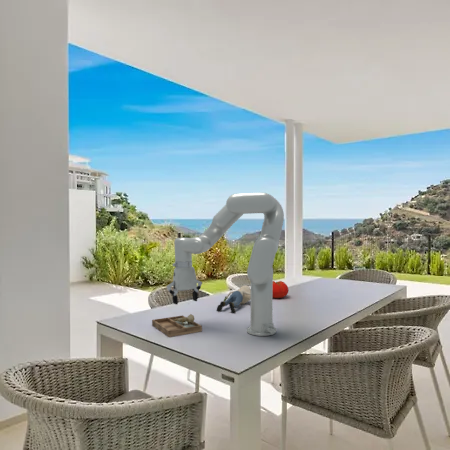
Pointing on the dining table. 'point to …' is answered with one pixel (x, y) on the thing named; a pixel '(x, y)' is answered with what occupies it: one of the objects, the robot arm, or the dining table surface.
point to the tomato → (279, 289)
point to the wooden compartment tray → (176, 326)
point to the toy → (236, 298)
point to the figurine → (185, 319)
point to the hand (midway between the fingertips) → (185, 302)
